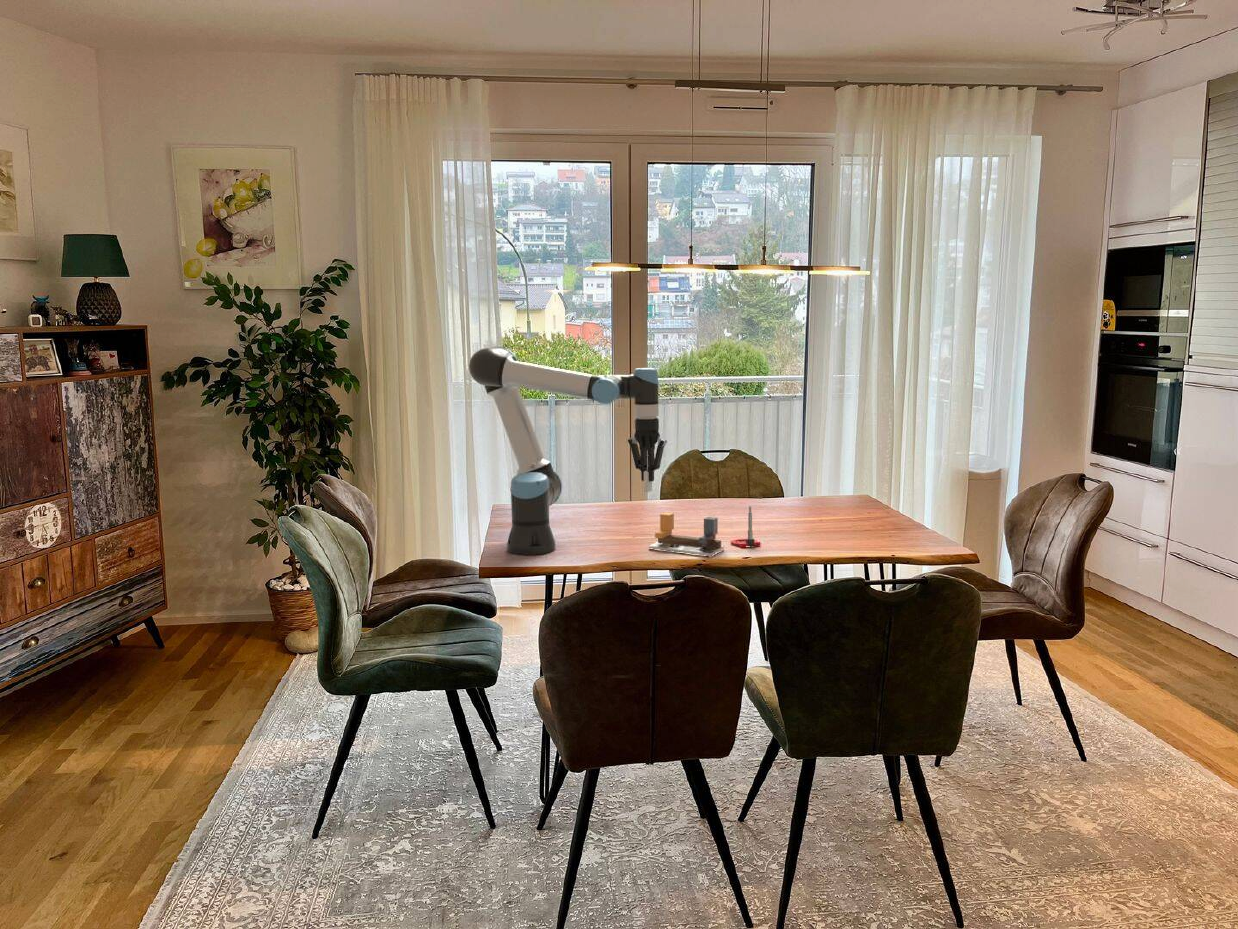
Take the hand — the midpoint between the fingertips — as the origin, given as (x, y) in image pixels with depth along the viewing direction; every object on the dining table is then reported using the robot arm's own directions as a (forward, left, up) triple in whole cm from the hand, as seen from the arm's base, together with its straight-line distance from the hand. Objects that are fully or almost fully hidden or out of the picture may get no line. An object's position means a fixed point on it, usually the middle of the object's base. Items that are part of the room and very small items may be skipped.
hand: (648, 491), depth 297 cm
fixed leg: (-2, -22, -15) cm, 26 cm away
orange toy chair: (-2, -7, -15) cm, 17 cm away
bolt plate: (-3, -15, -17) cm, 23 cm away
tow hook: (+12, -28, -17) cm, 35 cm away
